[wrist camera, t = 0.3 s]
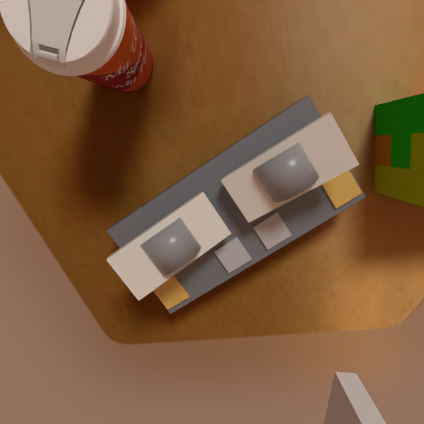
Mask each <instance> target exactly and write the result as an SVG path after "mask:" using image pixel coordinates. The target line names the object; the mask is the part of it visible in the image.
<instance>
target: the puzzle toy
mask: <svg viewBox="0 0 424 424" xmlns="http://www.w3.org/2000/svg"><path fill="white" fill-rule="evenodd" d="M375 193H379V194H382V195H385V196H388V197H392V198H395V199H398V200H402V201H405V202H408V203H411V204H415V205H418V206H421V207H424V93H423V94H419V95H415V96H411V97H407V98H403V99H399V100H395V101H391V102H387V103H383V104H379V105H375Z"/></svg>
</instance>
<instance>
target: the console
mask: <svg viewBox="0 0 424 424" xmlns="http://www.w3.org/2000/svg"><path fill="white" fill-rule="evenodd" d="M319 117H321V116H320V115H319V113H318V111H317V109H316V108H315V106H314V104H313V102H312V100H311V99H310V97H309V95H308V96H306V97H304V98H302V99H300V100H299V101H297V102H295V103H294V104H292V105H291V106H289V107H288V108H286V109H285V110H283V111H282V112H280V113H279V114H277V115H276V116H274V117H273V118H271V119H270V120H268V121H267V122H265V123H264V124H262V125H261V126H259V127H258V128H256V129H255V130H253V131H252V132H251V133H249V134H248V135H246V136H245V137H243V138H242V139H240V140H239V141H237V142H236V143H234V144H233V145H231V146H230V147H228V148H227V149H225V150H224V151H222V152H221V153H219V154H218V155H216V156H215V157H213V158H212V159H210V160H209V161H207V162H206V163H205V164H203V165H202V166H200V167H199V168H197V169H196V170H194V171H193V172H191V173H190V174H188V175H187V176H185V177H184V178H182V179H181V180H179V181H178V182H176V183H175V184H173V185H172V186H170V187H169V188H167V189H166V190H164V191H163V192H161V193H160V194H158V195H157V196H156V197H154V198H153V199H151V200H150V201H148V202H147V203H145V204H144V205H142V206H141V207H139V208H138V209H136V210H135V211H133V212H132V213H130V214H129V215H127V216H126V217H124V218H123V219H121V220H120V221H119V222H117V223H116V224H115V225H114V226H112V227H111V228H110V229H108V230H107V232H108V233H109V234H110V236H111V237H112V238H113V240H114V241H115V242H116V244H117V245H118V246H119V248H121V247H123V246H124V245H125V244H127V243H128V242H130V241H131V240H133V239H134V238H136V237H137V236H138V235H140V234H141V233H143V232H144V231H146V230H147V229H148V228H150V227H151V226H153V225H154V224H156V223H157V222H158V221H160V220H161V219H163V218H164V217H166V216H167V215H169V214H170V213H171V212H173V211H174V210H176V209H177V208H179V207H180V206H181V205H183V204H184V203H186V202H187V201H189V200H190V199H192V198H193V197H194V196H196V195H197V194H199V193H200V192H204V194H205V195H206V197H207V198H208V200H209V201H210V203H211V204H212V206H213V207H214V209H215V210H216V212H217V213H218V214H219V216H220V217H221V219H222V220H223V222H224V223H225V225H226V226H227V228H228V229H229V231H230V232H231V234H230V235H229V236H227V237H226V238H225V239H223V240H222V241H221V242H219V243H218V244H216V245H215V246H214V247H212V248H211V249H210V250H208V251H207V252H205V253H204V254H203V255H201V256H200V257H198V258H197V259H196V260H194V261H193V262H192V263H190V264H189V265H187V266H186V267H185V268H183V269H182V270H181V271H179V272H178V273H176V274H175V275H174V276H172V277H171V278H170V279H168V280H167V281H165V282H164V283H163V284H161V285H160V286H159V287H157V288H156V289H154V290H153V292H154V293H155V295H156V296H157V297H158V298H159V300H160V301H161V302H162V304H163V305H164V306H165V308H166V309H167V310H168V312H169V313H170V314H171V313H173V312H175V311H176V310H178V309H180V308H181V307H183V306H185V305H186V304H188V303H190V302H191V301H193V300H195V299H196V298H198V297H200V296H201V295H203V294H205V293H206V292H208V291H210V290H211V289H213V288H215V287H216V286H218V285H220V284H221V283H223V282H225V281H226V280H228V279H230V278H231V277H233V276H235V275H236V274H238V273H240V272H241V271H243V270H245V269H246V268H248V267H250V266H251V265H253V264H255V263H256V262H258V261H260V260H261V259H263V258H265V257H266V256H268V255H270V254H271V253H273V252H275V251H276V250H278V249H280V248H281V247H283V246H285V245H286V244H288V243H290V242H292V241H293V240H295V239H297V238H298V237H300V236H302V235H303V234H305V233H307V232H308V231H310V230H312V229H313V228H315V227H317V226H318V225H320V224H322V223H323V222H325V221H327V220H328V219H330V218H332V217H333V216H335V215H337V214H338V213H340V212H342V211H343V210H345V209H347V208H348V207H350V206H352V205H353V204H355V203H357V202H358V201H360V200H362V199H363V198H365V197H366V196H365V195H364V193H363V191H362V189H361V188H360V186H359V184H358V182H357V180H356V179H355V177H354V175H353V173H352V172H351V170H348V171H346V172H344V173H342V174H341V175H339V176H337V177H335V178H333V179H331V180H329V181H327V182H325V183H323V184H322V185H320V186H318V187H316V188H314V189H312V190H310V191H308V192H306V193H304V194H303V195H301V196H299V197H297V198H295V199H293V200H291V201H289V202H287V203H285V204H284V205H282V206H280V207H278V208H276V209H274V210H272V211H270V212H268V213H266V214H264V215H263V216H261V217H259V218H257V219H255V220H253V221H251V222H249V223H248V221H247V220H246V218H245V217H244V215H243V214H242V212H241V211H240V209H239V207H238V206H237V204H236V203H235V201H234V200H233V198H232V197H231V195H230V194H229V192H228V191H227V189H226V188H225V186H224V185H223V183H222V182H221V180H222V178H223V177H224V176H226V175H228V174H229V173H231V172H232V171H234V170H236V169H237V168H239V167H241V166H242V165H244V164H245V163H247V162H249V161H250V160H252V159H253V158H255V157H257V156H258V155H260V154H261V153H263V152H265V151H266V150H268V149H270V148H271V147H273V146H274V145H276V144H278V143H279V142H281V141H282V140H284V139H286V138H287V137H289V136H290V135H292V134H294V133H295V132H297V131H299V130H300V129H302V128H303V127H305V126H307V125H308V124H310V123H311V122H313V121H315V120H316V119H318V118H319Z"/></svg>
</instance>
